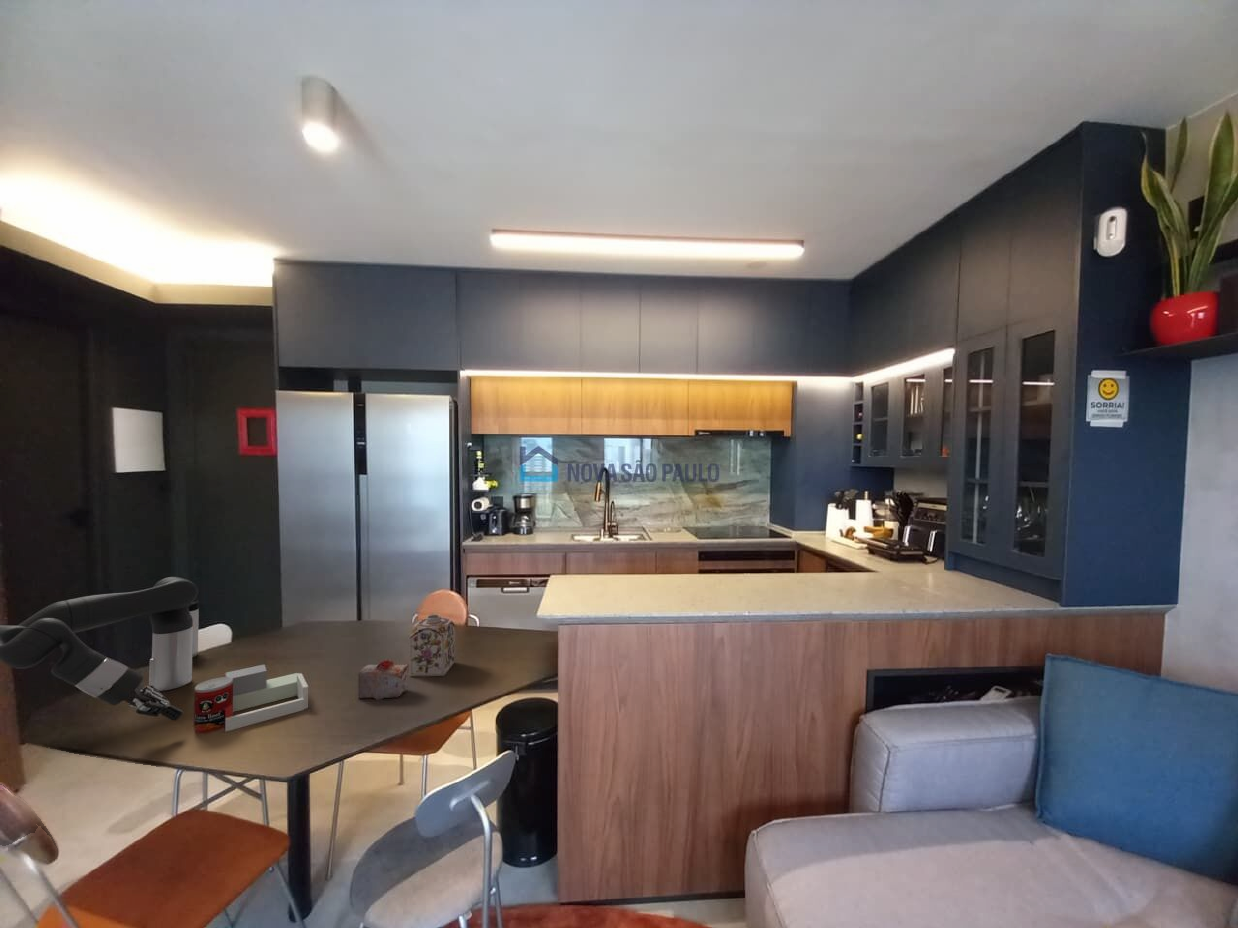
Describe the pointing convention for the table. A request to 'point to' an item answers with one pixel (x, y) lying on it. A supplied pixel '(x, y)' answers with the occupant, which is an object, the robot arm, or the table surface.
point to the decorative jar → (432, 646)
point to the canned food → (213, 704)
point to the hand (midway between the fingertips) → (179, 716)
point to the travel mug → (194, 625)
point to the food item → (382, 680)
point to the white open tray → (264, 695)
